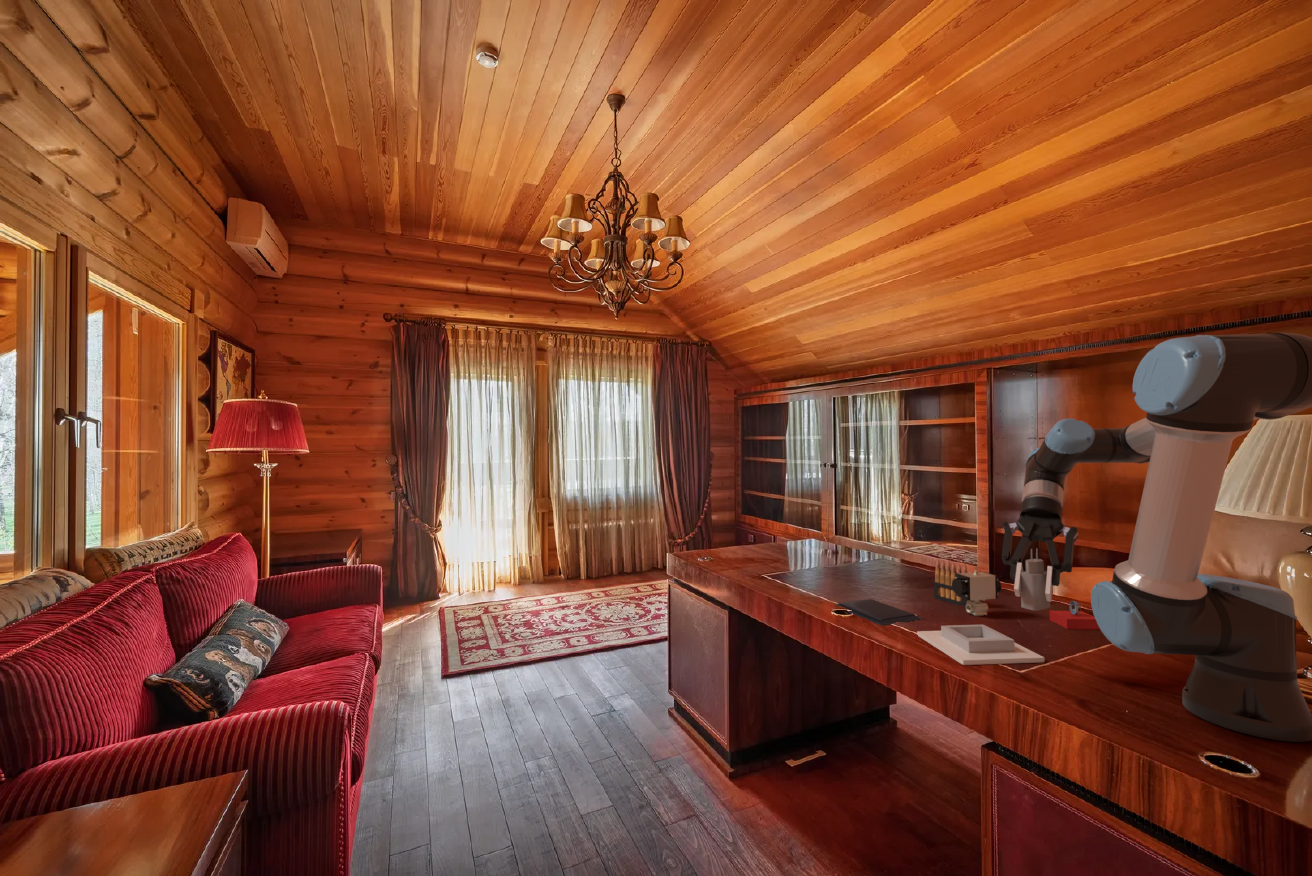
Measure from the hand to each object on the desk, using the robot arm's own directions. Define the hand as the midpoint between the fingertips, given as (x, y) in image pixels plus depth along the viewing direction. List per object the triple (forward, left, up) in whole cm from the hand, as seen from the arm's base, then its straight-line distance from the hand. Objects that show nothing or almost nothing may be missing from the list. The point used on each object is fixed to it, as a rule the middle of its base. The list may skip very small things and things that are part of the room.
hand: (1032, 595), depth 107 cm
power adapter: (+3, -3, -3) cm, 5 cm away
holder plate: (+16, +1, -16) cm, 23 cm away
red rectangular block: (+29, -34, -17) cm, 48 cm away
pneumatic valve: (+40, -15, -17) cm, 46 cm away
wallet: (+44, +11, -17) cm, 48 cm away
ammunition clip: (+51, -15, -17) cm, 56 cm away
